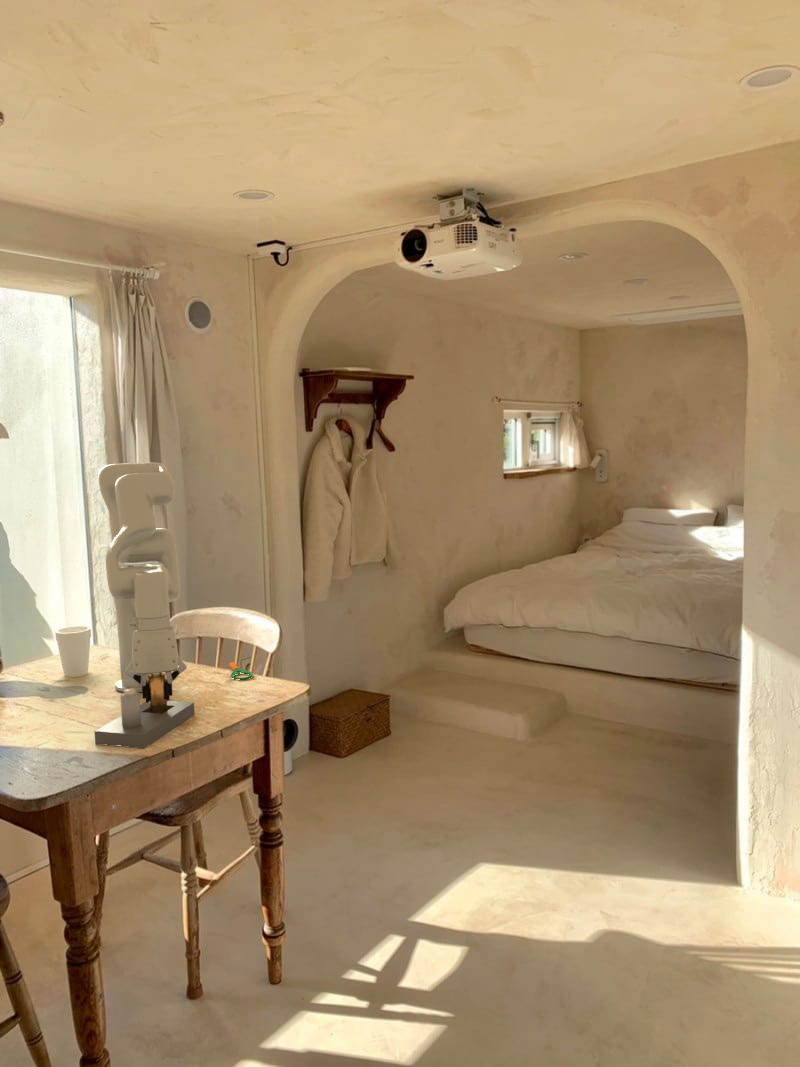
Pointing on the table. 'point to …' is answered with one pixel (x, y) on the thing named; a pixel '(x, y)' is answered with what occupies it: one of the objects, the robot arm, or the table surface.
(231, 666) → the magnifying glass
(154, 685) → the amber bottle
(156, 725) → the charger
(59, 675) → the table surface
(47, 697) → the table surface
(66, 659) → the foam cup
